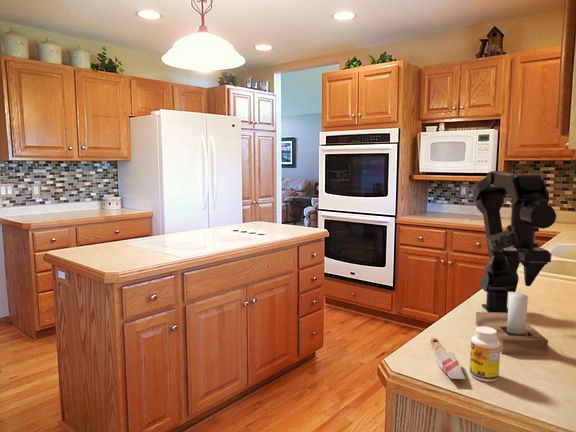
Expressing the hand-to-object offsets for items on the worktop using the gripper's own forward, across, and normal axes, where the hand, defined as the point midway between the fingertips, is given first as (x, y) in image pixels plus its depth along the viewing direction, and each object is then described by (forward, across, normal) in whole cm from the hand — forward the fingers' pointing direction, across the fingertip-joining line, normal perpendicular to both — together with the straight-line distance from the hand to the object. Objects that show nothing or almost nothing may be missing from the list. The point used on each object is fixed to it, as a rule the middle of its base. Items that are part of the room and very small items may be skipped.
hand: (519, 280), depth 114 cm
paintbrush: (+13, +21, -24) cm, 35 cm away
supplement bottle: (+13, +27, -18) cm, 35 cm away
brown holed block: (+13, +7, -5) cm, 16 cm away
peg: (+13, +11, -5) cm, 18 cm away
